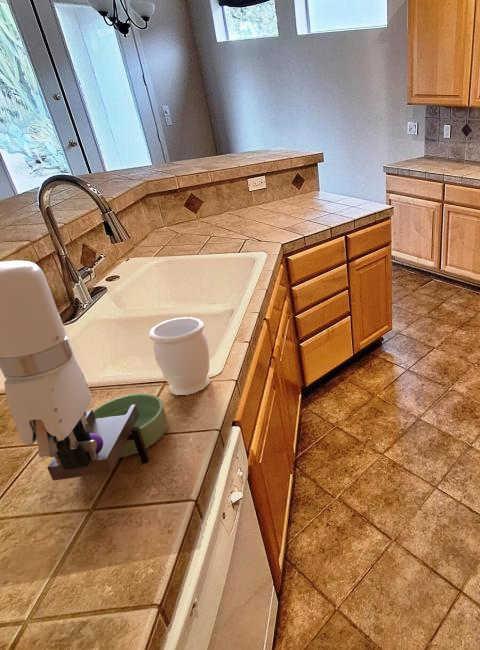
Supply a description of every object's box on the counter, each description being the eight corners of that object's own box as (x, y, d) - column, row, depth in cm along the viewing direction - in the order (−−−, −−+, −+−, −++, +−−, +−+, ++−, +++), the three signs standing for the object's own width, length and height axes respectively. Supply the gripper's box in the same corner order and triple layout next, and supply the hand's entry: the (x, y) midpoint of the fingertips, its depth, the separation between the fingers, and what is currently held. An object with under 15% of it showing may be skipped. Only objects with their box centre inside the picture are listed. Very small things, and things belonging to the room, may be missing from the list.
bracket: (80, 473, 74) (66, 439, 71) (82, 468, 75) (69, 435, 72) (147, 463, 76) (137, 429, 73) (149, 458, 77) (138, 426, 74)
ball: (75, 431, 68) (83, 447, 69) (68, 448, 65) (76, 464, 66) (101, 426, 69) (109, 442, 70) (95, 442, 66) (103, 459, 67)
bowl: (76, 466, 75) (67, 444, 73) (105, 418, 87) (97, 398, 85) (158, 454, 78) (152, 432, 76) (175, 409, 90) (170, 389, 88)
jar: (199, 367, 104) (186, 312, 98) (224, 382, 99) (213, 324, 92) (155, 388, 96) (138, 329, 90) (180, 405, 91) (165, 344, 84)
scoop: (51, 483, 63) (37, 452, 61) (91, 422, 76) (81, 394, 74) (110, 474, 65) (99, 443, 63) (139, 415, 78) (131, 388, 76)
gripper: (35, 331, 62) (75, 430, 70) (-38, 394, 49) (22, 509, 56) (92, 325, 64) (126, 423, 72) (38, 386, 50) (86, 498, 58)
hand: (80, 460), depth 64 cm, fingers closed on scoop
